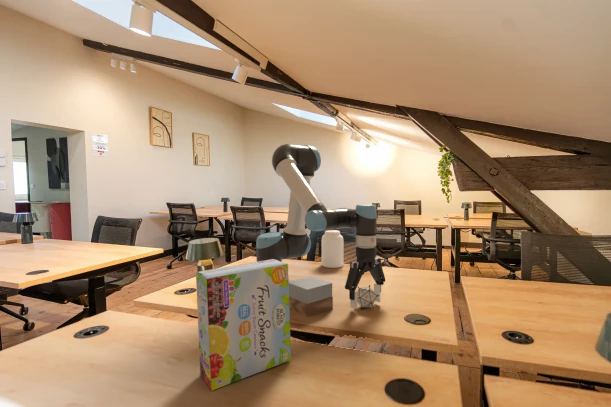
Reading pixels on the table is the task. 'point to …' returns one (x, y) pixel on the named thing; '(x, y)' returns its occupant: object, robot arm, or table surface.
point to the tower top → (310, 289)
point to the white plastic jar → (332, 249)
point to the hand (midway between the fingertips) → (365, 304)
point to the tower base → (311, 306)
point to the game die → (366, 297)
